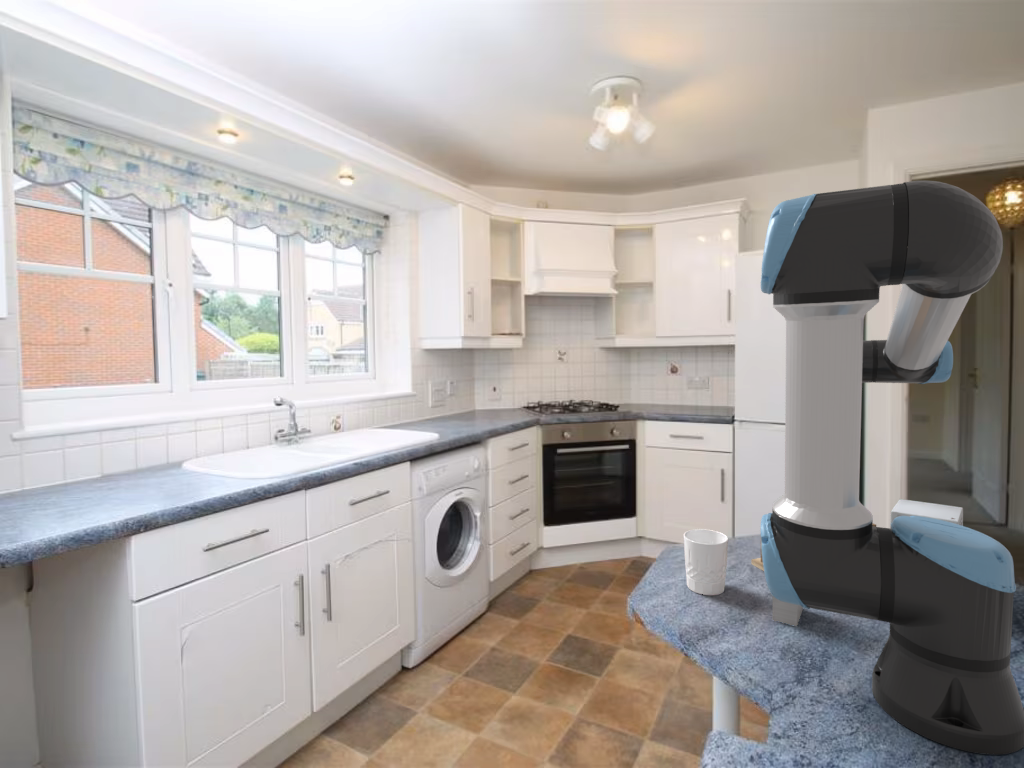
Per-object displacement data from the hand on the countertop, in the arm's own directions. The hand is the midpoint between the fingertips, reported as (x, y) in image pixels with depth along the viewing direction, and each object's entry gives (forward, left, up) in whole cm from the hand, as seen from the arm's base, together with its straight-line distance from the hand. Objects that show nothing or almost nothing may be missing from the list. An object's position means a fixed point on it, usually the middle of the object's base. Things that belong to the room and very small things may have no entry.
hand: (820, 521), depth 110 cm
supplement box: (+4, -19, -9) cm, 21 cm away
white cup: (-28, -2, -9) cm, 30 cm away
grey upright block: (-21, -15, -9) cm, 27 cm away
